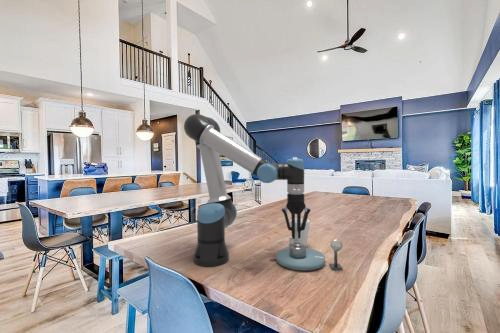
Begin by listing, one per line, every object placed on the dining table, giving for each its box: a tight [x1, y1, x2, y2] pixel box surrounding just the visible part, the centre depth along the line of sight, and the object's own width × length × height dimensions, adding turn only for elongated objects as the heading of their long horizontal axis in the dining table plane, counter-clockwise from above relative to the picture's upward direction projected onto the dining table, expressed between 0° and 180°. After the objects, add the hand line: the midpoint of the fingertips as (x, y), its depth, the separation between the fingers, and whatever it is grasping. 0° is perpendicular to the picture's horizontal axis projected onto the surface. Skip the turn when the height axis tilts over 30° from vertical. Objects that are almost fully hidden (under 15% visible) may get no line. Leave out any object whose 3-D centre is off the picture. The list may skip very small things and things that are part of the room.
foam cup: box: [289, 217, 311, 247], centre depth 128 cm, size 10×9×13 cm
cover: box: [288, 243, 307, 259], centre depth 108 cm, size 7×7×5 cm
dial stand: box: [328, 238, 343, 271], centre depth 103 cm, size 4×4×12 cm
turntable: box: [276, 237, 326, 271], centre depth 109 cm, size 20×20×7 cm
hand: (296, 245), depth 116 cm, fingers closed
